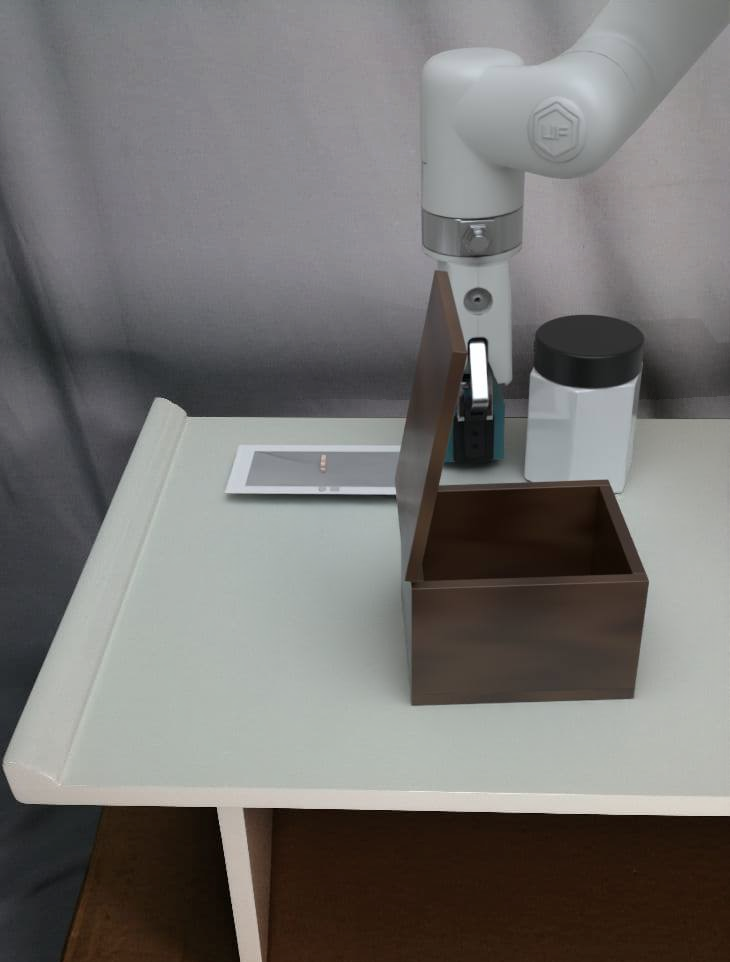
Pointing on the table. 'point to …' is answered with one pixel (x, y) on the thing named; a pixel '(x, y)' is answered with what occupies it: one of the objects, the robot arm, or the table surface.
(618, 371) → the jar
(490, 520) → the chest
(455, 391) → the lid
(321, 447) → the touchpad
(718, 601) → the table surface
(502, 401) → the block
